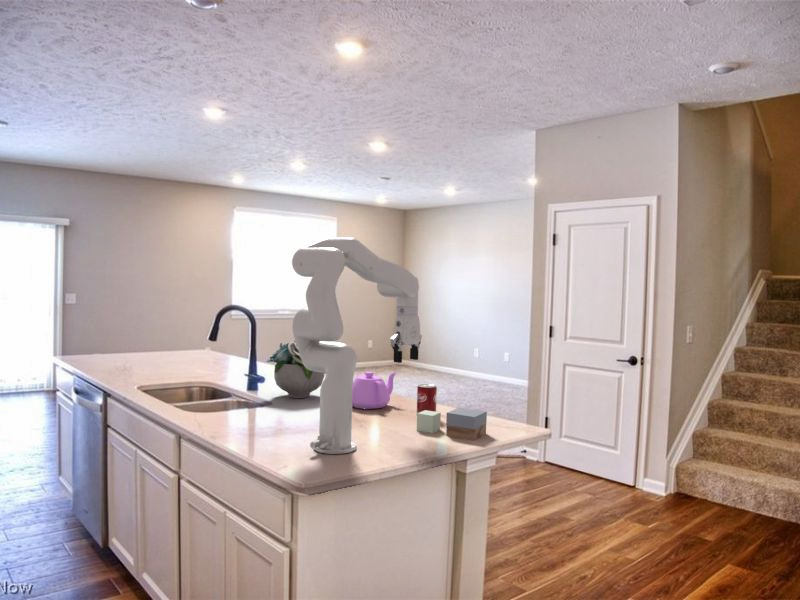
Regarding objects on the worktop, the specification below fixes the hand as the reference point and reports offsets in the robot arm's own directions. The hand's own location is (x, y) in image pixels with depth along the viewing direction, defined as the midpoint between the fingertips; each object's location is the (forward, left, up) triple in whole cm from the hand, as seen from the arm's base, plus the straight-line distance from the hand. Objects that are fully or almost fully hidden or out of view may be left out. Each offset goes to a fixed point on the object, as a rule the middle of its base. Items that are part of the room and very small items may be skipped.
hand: (406, 360), depth 202 cm
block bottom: (+2, -22, -23) cm, 32 cm away
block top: (+2, -22, -19) cm, 30 cm away
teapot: (+22, +27, -23) cm, 42 cm away
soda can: (+16, 0, -23) cm, 28 cm away
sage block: (0, -9, -23) cm, 25 cm away
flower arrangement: (+19, +62, -23) cm, 69 cm away
